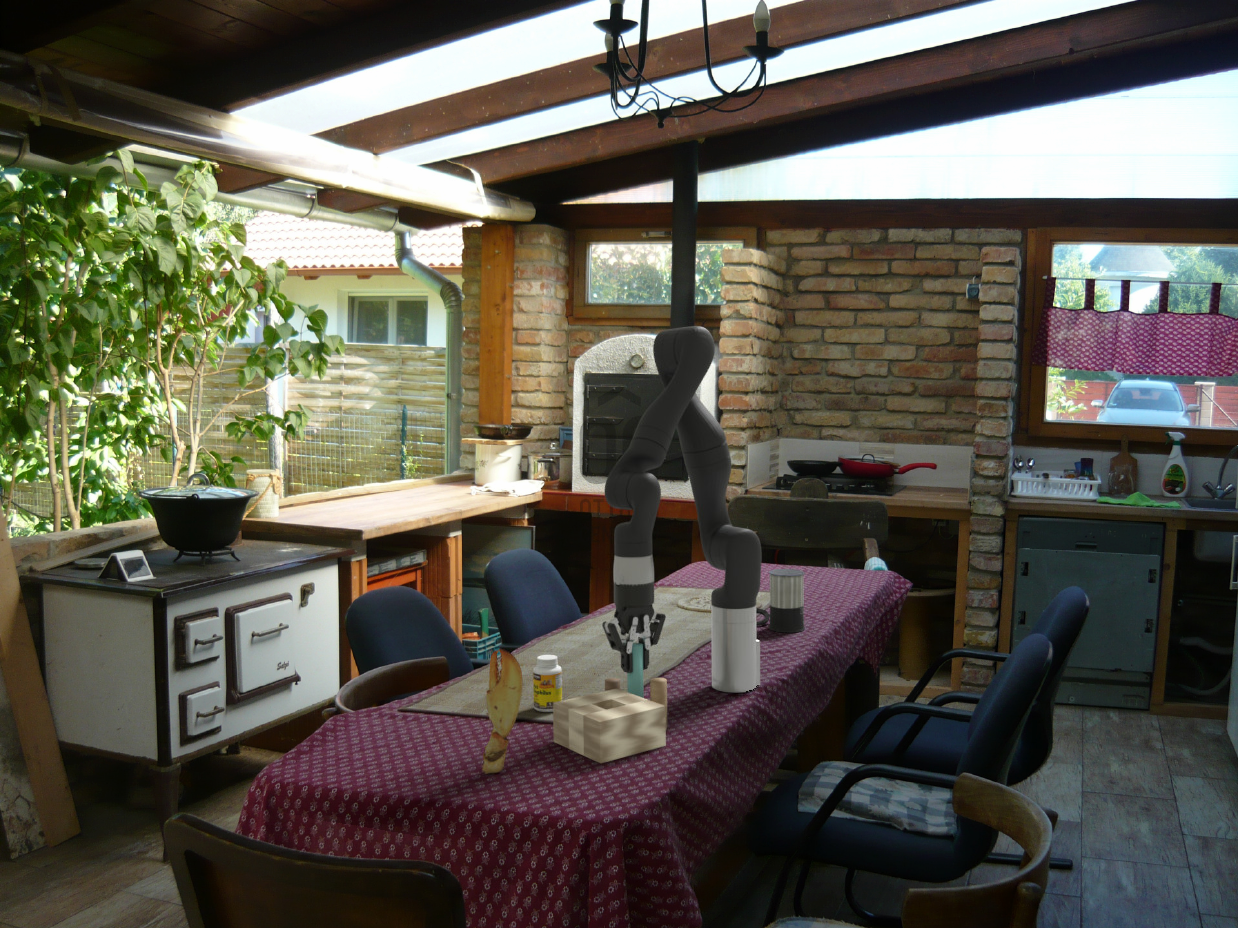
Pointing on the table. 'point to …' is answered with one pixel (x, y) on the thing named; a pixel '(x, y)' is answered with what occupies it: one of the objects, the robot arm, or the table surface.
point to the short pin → (612, 684)
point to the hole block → (609, 725)
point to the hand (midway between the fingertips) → (635, 669)
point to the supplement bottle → (547, 683)
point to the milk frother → (785, 601)
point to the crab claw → (501, 707)
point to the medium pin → (659, 692)
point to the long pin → (636, 672)
